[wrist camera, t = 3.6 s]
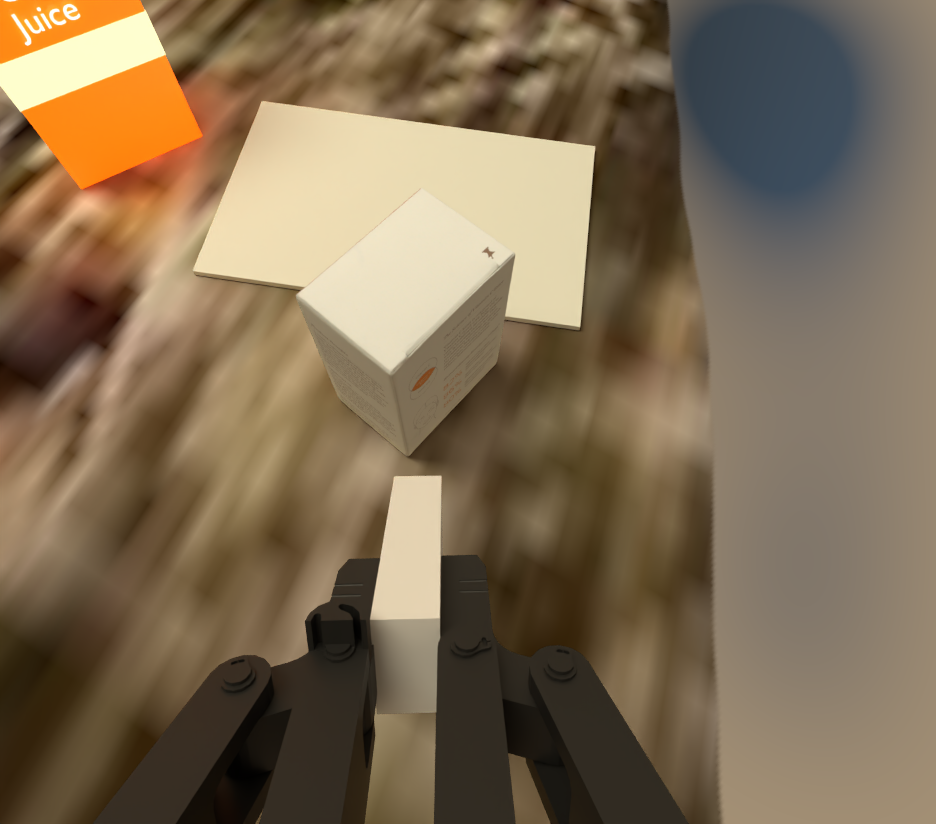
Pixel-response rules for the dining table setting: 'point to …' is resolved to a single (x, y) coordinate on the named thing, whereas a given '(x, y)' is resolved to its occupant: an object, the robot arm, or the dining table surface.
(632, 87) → the dining table surface
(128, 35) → the orange juice
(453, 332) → the small box
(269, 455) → the dining table surface
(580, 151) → the mat
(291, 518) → the dining table surface
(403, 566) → the robot arm
